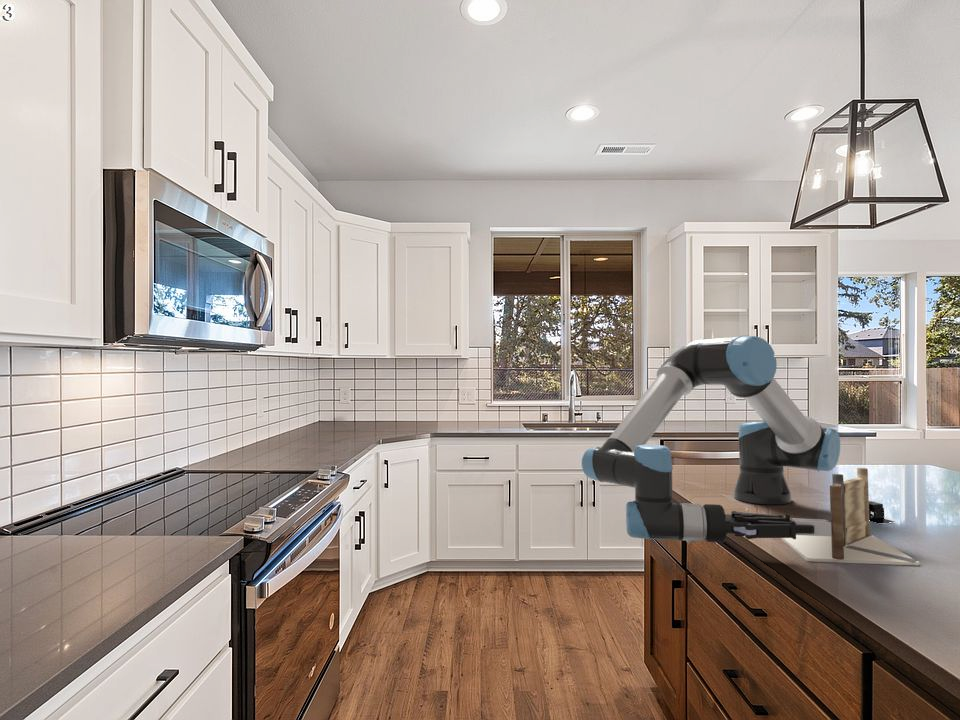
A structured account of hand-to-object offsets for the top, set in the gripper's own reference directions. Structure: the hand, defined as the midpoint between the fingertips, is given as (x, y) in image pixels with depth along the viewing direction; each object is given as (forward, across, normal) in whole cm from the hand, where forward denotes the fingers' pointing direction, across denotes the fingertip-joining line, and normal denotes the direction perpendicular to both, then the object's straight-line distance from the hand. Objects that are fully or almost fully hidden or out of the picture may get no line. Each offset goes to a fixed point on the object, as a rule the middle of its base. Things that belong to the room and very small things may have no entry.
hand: (828, 527), depth 113 cm
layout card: (+6, -12, -7) cm, 15 cm away
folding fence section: (+3, -4, -6) cm, 7 cm away
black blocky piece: (+24, -38, -7) cm, 45 cm away
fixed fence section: (+10, -15, -6) cm, 19 cm away
